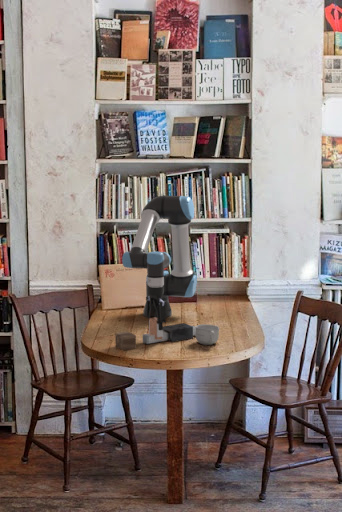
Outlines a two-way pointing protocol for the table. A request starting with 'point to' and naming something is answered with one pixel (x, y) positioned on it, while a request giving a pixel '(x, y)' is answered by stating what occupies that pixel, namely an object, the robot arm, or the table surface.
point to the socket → (125, 340)
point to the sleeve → (179, 331)
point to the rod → (153, 333)
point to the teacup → (207, 334)
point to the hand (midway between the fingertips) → (155, 334)
